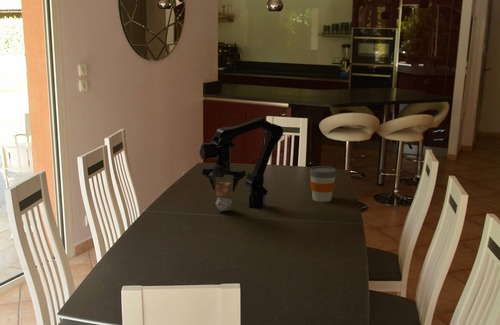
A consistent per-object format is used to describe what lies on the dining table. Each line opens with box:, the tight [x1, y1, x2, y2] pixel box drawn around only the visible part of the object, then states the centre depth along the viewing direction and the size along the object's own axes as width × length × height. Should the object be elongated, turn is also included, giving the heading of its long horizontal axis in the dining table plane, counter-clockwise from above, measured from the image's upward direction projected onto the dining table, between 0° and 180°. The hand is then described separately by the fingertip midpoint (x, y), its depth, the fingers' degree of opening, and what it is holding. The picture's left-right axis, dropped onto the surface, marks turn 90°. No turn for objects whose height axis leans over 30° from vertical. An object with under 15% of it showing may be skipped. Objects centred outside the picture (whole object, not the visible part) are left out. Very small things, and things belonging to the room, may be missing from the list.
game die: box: [213, 195, 235, 214], centre depth 247 cm, size 9×8×10 cm
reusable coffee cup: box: [309, 165, 337, 203], centre depth 265 cm, size 13×13×15 cm
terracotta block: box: [215, 181, 232, 197], centre depth 246 cm, size 5×5×5 cm
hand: (223, 191), depth 246 cm, fingers open, 9 cm apart
